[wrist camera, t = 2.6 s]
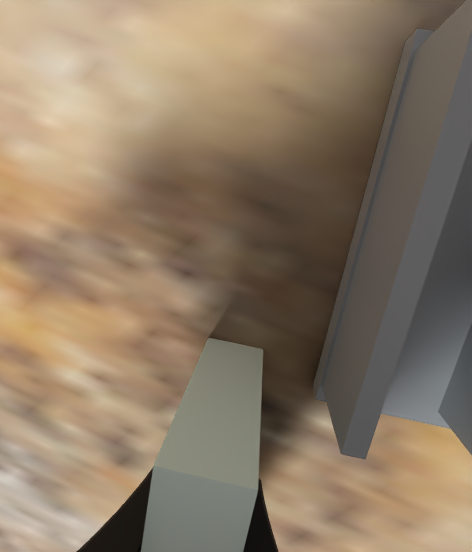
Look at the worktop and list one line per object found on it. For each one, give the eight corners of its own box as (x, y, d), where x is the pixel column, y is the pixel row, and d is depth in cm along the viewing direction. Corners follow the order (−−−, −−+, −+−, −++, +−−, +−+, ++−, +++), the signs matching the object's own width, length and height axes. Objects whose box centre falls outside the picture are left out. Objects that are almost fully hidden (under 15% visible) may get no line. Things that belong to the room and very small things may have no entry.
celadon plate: (220, 540, 14) (187, 777, 8) (175, 529, 14) (110, 757, 9) (263, 348, 12) (257, 490, 6) (208, 337, 12) (153, 466, 6)
